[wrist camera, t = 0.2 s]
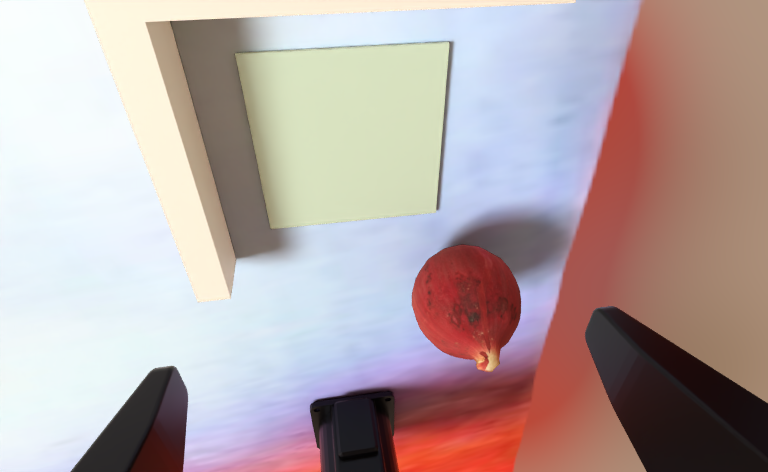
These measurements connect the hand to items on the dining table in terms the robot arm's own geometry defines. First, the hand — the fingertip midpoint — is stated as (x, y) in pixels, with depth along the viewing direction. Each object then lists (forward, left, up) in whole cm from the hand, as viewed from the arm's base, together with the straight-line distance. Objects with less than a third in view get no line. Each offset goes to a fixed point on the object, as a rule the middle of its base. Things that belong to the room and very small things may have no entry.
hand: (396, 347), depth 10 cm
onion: (-10, -6, -14) cm, 19 cm away
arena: (-2, 0, -14) cm, 14 cm away
